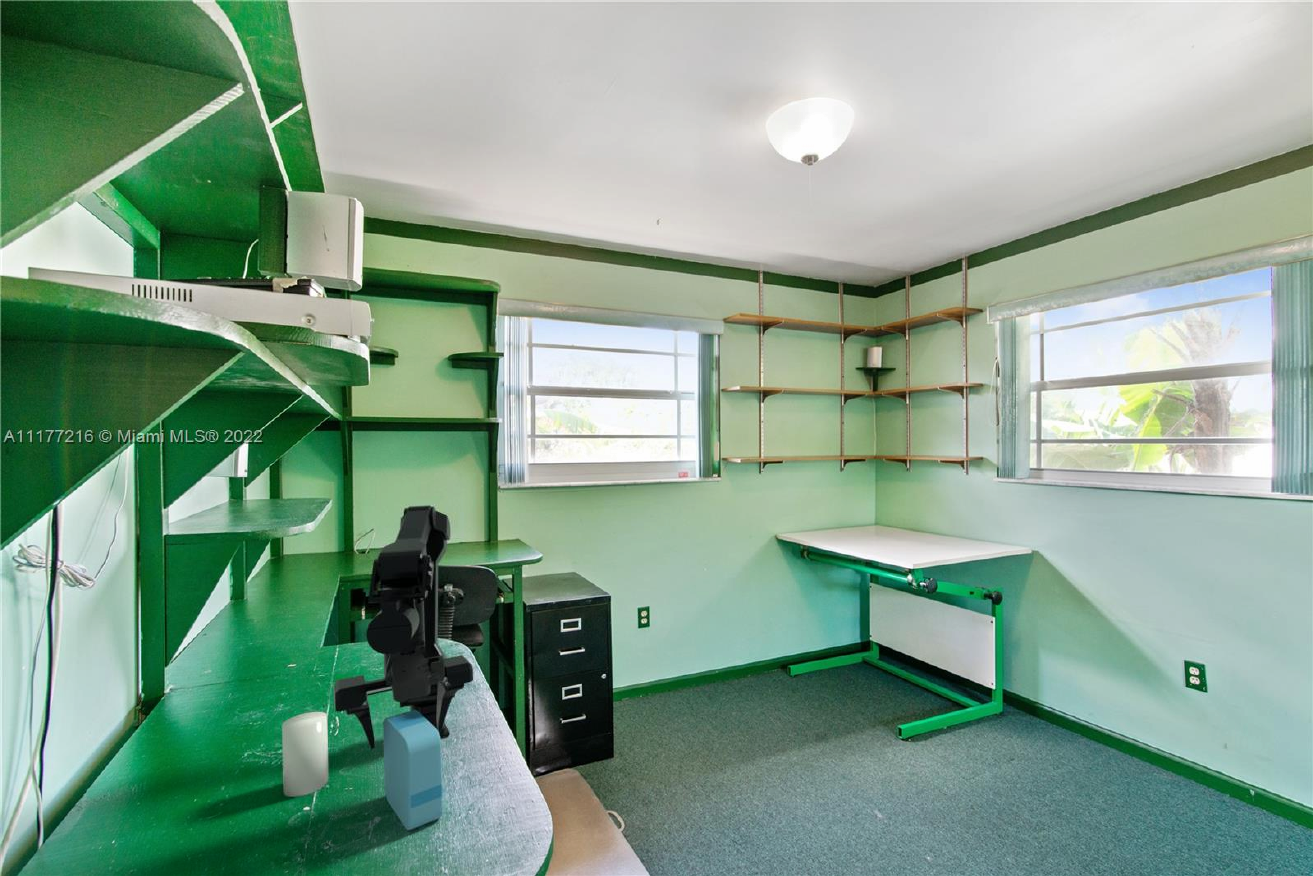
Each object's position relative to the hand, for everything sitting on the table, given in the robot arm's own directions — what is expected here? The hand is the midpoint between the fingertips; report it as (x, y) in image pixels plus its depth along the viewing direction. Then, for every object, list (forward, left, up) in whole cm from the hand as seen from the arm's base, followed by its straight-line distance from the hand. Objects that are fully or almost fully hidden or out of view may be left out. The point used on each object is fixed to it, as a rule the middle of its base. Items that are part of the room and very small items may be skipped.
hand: (406, 739), depth 88 cm
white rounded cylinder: (-12, -13, -8) cm, 19 cm away
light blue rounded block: (+4, 0, -8) cm, 9 cm away
